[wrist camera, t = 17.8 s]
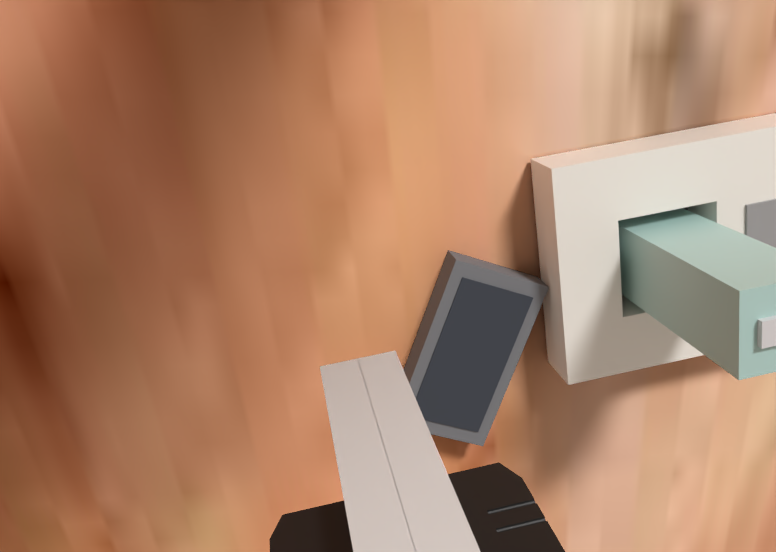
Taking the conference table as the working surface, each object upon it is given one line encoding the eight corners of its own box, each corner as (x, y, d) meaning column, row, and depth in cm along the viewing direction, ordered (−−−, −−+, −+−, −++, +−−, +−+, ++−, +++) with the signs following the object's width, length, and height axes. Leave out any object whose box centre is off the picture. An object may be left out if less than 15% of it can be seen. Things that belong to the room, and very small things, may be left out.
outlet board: (530, 158, 39) (552, 169, 36) (808, 106, 41) (851, 113, 38) (548, 361, 43) (569, 386, 40) (800, 306, 45) (839, 326, 42)
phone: (447, 249, 41) (456, 260, 39) (536, 275, 42) (549, 287, 40) (387, 408, 43) (393, 426, 41) (473, 428, 44) (483, 446, 42)
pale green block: (607, 218, 41) (744, 293, 29) (675, 205, 41) (837, 273, 30) (610, 286, 42) (743, 383, 31) (676, 272, 43) (831, 363, 31)
